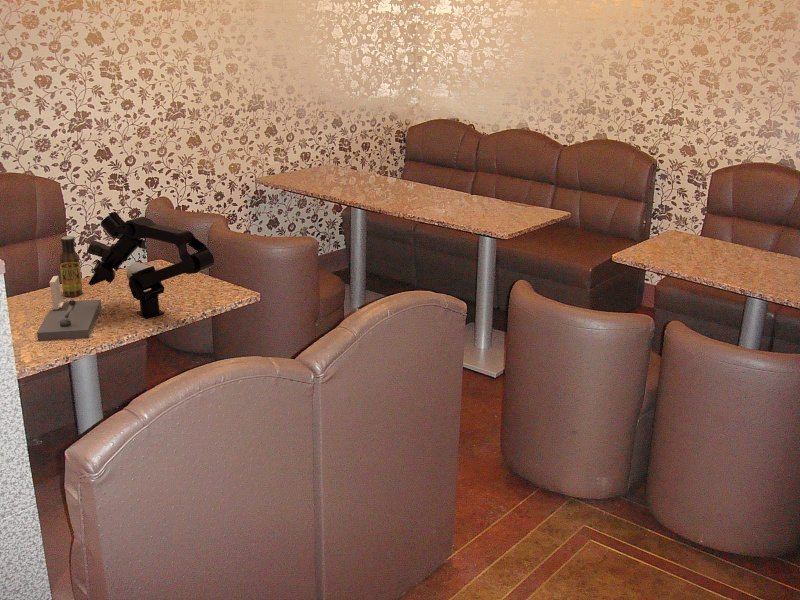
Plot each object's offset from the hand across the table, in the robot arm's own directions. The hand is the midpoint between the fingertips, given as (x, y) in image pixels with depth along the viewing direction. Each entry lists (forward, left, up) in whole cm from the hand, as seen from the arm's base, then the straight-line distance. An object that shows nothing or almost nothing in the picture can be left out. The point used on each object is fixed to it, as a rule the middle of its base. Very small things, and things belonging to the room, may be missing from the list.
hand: (89, 284), depth 249 cm
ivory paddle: (+5, +9, -7) cm, 12 cm away
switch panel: (-4, +8, -10) cm, 13 cm away
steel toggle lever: (-11, +12, -5) cm, 17 cm away
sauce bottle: (+21, -2, -10) cm, 23 cm away
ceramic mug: (+16, -25, -10) cm, 32 cm away
